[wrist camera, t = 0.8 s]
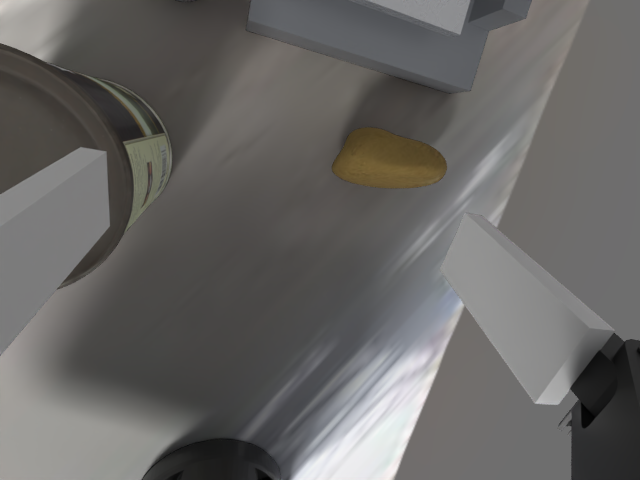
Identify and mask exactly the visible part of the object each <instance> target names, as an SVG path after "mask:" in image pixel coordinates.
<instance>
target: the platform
mask: <svg viewBox="0 0 640 480" xmlns="http://www.w3.org/2000/svg"><path fill="white" fill-rule="evenodd" d="M350 1H352V2H355V3H358V4H361V5H363V6H366V7H369V8H372V9H374V10H377V11H380V12H383V13H385V14H388V15H391V16H394V17H396V18H399V19H402V20H405V21H407V22H410V23H413V24H416V25H418V26H421V27H424V28H427V29H429V30H432V31H435V32H438V33H440V34H443V35H446V36H448V37H451V38H453V37H456V36H458V35H460V34H461V31H462V27H463V24H464V20H465V17H466V14H467V10H468V7H469V3H470V0H350Z"/></svg>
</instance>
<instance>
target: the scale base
mask: <svg viewBox="0 0 640 480" xmlns="http://www.w3.org/2000/svg"><path fill="white" fill-rule="evenodd" d="M531 1H532V0H470V3H469V7H468V10H467V14H466V17H465V20H464V24H463V27H462V31H461V34H460V35H458V36H456V37H453V38H451V37H448V36H446V35H443V34H440V33H438V32H435V31H432V30H429V29H427V28H424V27H421V26H418V25H416V24H413V23H410V22H407V21H405V20H402V19H399V18H396V17H394V16H391V15H388V14H385V13H383V12H380V11H377V10H374V9H372V8H369V7H366V6H363V5H361V4H358V3H355V2H352V1H350V0H250V6H249V13H248V19H247V25H246V30H247V31H250V32H253V33H257V34H260V35H263V36H266V37H269V38H273V39H276V40H279V41H282V42H285V43H289V44H292V45H295V46H298V47H302V48H305V49H308V50H311V51H314V52H318V53H321V54H324V55H327V56H331V57H334V58H337V59H340V60H343V61H347V62H350V63H353V64H356V65H359V66H363V67H366V68H369V69H372V70H376V71H379V72H382V73H385V74H388V75H392V76H395V77H398V78H401V79H404V80H408V81H411V82H414V83H417V84H421V85H424V86H427V87H430V88H433V89H437V90H440V91H443V92H446V93H449V94H450V93H458V92H466V91H471V88H472V84H473V81H474V78H475V75H476V72H477V68H478V65H479V62H480V59H481V55H482V52H483V49H484V46H485V42H486V39H487V36H488V33H489V31H490V30H493V29H496V28H499V27H502V26H505V25H508V24H511V23H514V22H517V21H520V20H523V19H526V16H527V13H528V10H529V7H530V4H531Z"/></svg>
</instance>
